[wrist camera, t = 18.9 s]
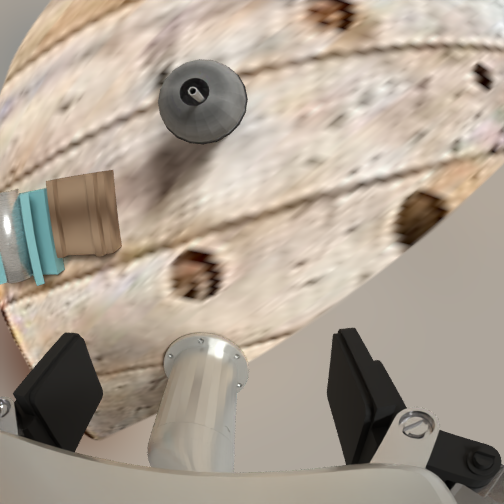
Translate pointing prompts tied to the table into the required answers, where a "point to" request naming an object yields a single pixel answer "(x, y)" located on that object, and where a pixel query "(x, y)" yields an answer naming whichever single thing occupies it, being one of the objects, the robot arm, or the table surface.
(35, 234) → the v block
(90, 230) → the tan stepped block
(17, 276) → the axle
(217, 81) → the beverage cup
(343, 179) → the table surface
